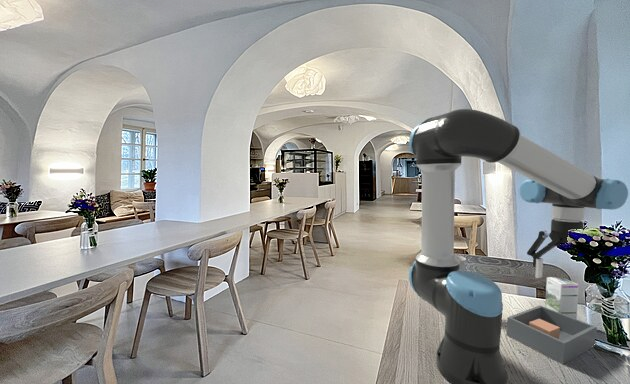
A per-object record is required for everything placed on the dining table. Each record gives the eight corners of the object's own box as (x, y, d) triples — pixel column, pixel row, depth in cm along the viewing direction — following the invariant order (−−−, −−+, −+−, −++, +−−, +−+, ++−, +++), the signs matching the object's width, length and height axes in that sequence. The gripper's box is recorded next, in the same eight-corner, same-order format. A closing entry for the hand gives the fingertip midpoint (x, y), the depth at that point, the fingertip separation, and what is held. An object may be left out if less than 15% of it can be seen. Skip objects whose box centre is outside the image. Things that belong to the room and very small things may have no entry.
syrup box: (577, 328, 85) (580, 283, 84) (558, 328, 85) (561, 283, 84) (561, 318, 90) (564, 276, 89) (543, 318, 91) (546, 276, 90)
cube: (548, 348, 74) (549, 331, 74) (528, 338, 78) (529, 322, 78) (558, 344, 76) (559, 327, 75) (538, 334, 80) (539, 318, 80)
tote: (562, 364, 69) (564, 343, 68) (506, 335, 81) (507, 317, 81) (595, 345, 76) (596, 327, 76) (538, 321, 88) (540, 305, 88)
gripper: (630, 225, 75) (624, 298, 77) (529, 213, 98) (526, 270, 100) (618, 228, 72) (613, 304, 74) (516, 215, 95) (514, 273, 97)
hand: (563, 284), depth 87 cm, fingers open, 13 cm apart
